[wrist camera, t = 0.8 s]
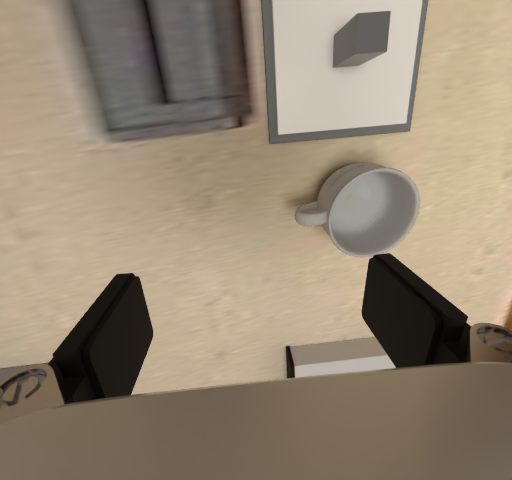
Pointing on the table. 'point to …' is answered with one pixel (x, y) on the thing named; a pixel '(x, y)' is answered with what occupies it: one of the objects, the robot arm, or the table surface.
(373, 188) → the teacup
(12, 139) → the table surface
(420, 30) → the mat
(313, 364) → the disc drive
